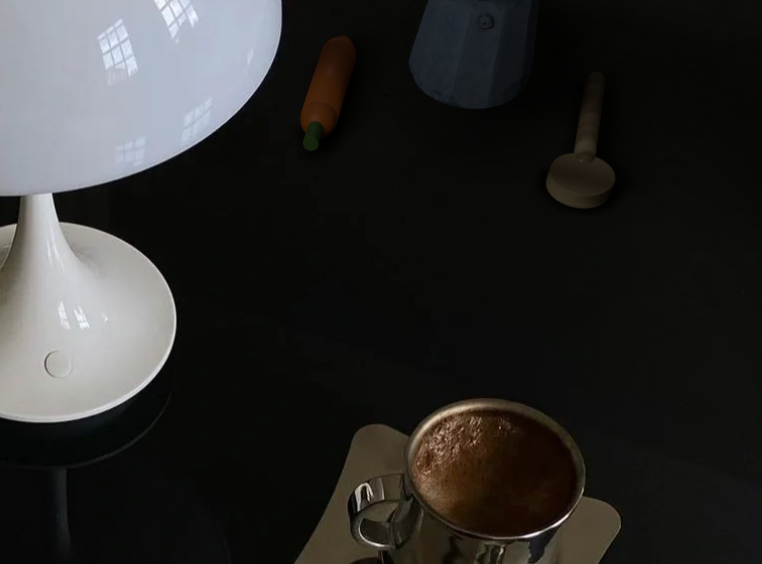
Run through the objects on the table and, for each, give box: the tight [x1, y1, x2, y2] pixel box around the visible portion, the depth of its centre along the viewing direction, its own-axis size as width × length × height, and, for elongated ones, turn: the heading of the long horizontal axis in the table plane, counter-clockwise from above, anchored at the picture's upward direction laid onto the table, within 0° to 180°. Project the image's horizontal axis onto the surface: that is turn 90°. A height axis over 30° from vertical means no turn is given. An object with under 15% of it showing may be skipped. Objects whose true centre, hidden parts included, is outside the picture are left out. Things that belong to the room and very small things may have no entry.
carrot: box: [299, 34, 357, 152], centre depth 102 cm, size 14×3×3 cm, turn 166°
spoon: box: [545, 71, 616, 209], centre depth 101 cm, size 15×5×2 cm, turn 166°
